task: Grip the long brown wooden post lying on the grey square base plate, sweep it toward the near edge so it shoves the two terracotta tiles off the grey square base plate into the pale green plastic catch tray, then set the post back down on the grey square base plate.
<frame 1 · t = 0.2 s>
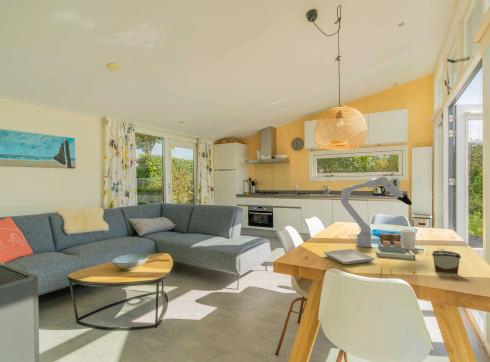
hand: (409, 203, 182), 31 cm above the table, tool tilted 45°, fingers open, 7 cm apart
salad plate: (348, 260, 160), on the table
tile b: (397, 245, 175), point 4 cm above the table, touching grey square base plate
mug: (409, 248, 186), on the table
tile a: (386, 245, 178), point 4 cm above the table, touching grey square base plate
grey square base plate: (391, 250, 179), on the table
food container: (444, 271, 139), on the table
tray: (394, 255, 167), on the table
long brown wooden post: (390, 243, 184), point 4 cm above the table, touching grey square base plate
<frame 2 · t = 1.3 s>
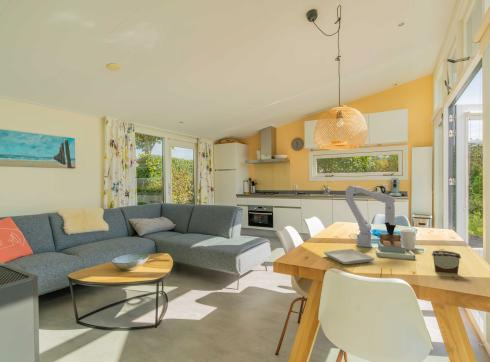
hand: (390, 233, 184), 10 cm above the table, tool pointing down, fingers open, 7 cm apart
nothing on the table moved.
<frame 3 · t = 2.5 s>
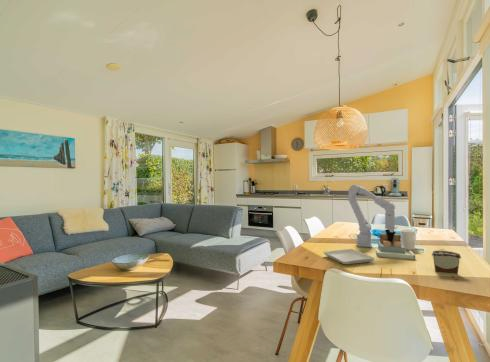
hand: (390, 240, 184), 5 cm above the table, tool pointing down, fingers closed on long brown wooden post, 3 cm apart
long brown wooden post: (390, 243, 184), point 4 cm above the table, touching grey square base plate, gripper
everything else where it was.
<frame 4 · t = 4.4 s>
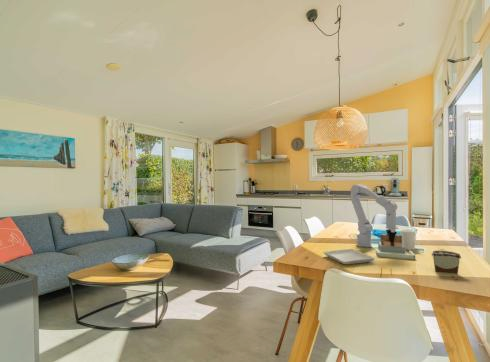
hand: (391, 241, 179), 6 cm above the table, tool pointing down, fingers closed on long brown wooden post, 3 cm apart
tile a: (386, 245, 177), point 4 cm above the table, touching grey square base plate, long brown wooden post
long brown wooden post: (391, 243, 179), point 4 cm above the table, touching gripper, tile a
everything else where it was.
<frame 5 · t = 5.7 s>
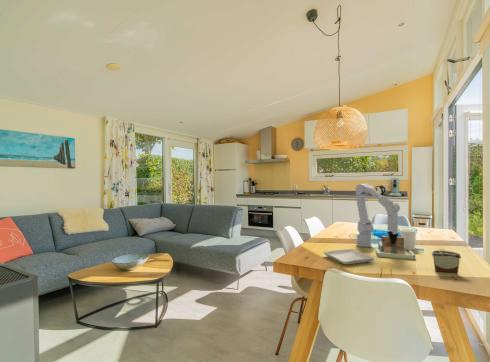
hand: (392, 243, 173), 6 cm above the table, tool pointing down, fingers closed on long brown wooden post, 3 cm apart
tile b: (400, 251, 166), point 3 cm above the table, tilted 180°, touching tray
tile a: (387, 249, 172), point 3 cm above the table, tilted 90°, touching tray
long brown wooden post: (392, 246, 173), point 4 cm above the table, touching gripper
everything else where it was.
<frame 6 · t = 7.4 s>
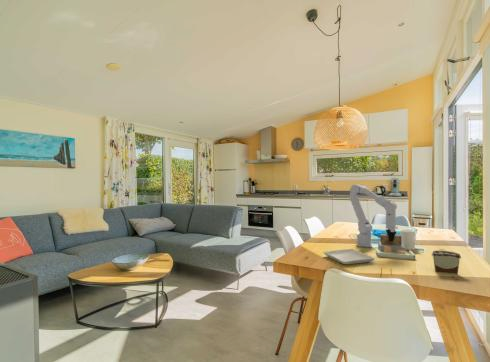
hand: (390, 240, 180), 6 cm above the table, tool pointing down, fingers closed on long brown wooden post, 3 cm apart
long brown wooden post: (390, 244, 180), point 4 cm above the table, touching gripper
everything else where it was.
when the fingers open (6 cm above the table, at t = 8.2 s): long brown wooden post stays where it is, resting on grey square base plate.
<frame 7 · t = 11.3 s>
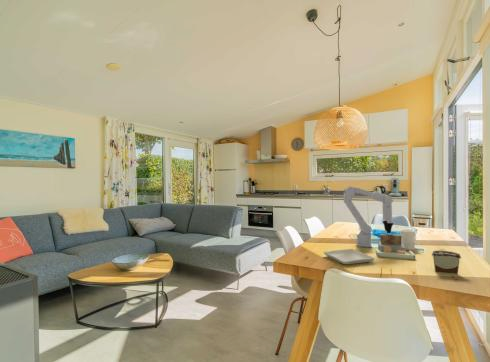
hand: (387, 231, 189), 10 cm above the table, tool pointing down, fingers open, 7 cm apart
long brown wooden post: (390, 244, 181), point 4 cm above the table, touching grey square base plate
everything else where it was.
at the end: tile a inside the target area (6.4 cm from its centre), point 2.6 cm above the table; tile b inside the target area (3.7 cm from its centre), point 3.1 cm above the table; long brown wooden post inside the target area (1.5 cm from its centre), point 4.0 cm above the table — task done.
